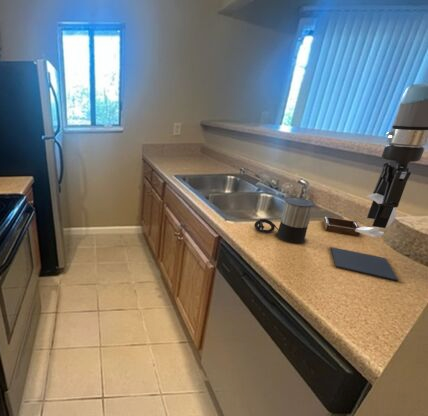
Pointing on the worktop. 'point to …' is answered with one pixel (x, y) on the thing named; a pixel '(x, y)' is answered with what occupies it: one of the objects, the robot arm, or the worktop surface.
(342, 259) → the mat
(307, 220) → the milk frother
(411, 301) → the worktop surface
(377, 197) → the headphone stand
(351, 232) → the tray
